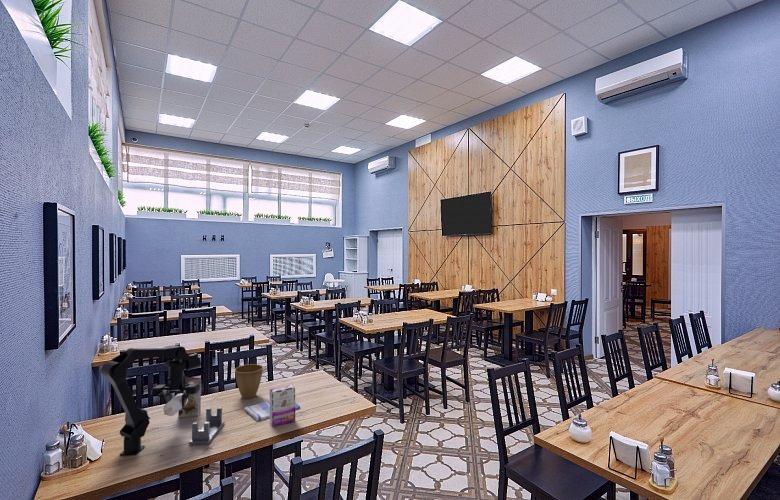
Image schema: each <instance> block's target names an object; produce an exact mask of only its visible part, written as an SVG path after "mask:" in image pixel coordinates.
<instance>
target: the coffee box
mask: <svg viewBox="0 0 780 500" xmlns="http://www.w3.org/2000/svg"><path fill="white" fill-rule="evenodd" d="M190 384H199V385H200V390H198V391H197V392H196V393H195V394H190V395H189V396H188V402H187V404H186V405H185V407H184V408H181V409H180V410H179V411H178V412H177V414H178V416H177V418H188V417H189V418H190V417H198V416H199V415H200V414H201V411H202V409H201V408H202V407H201V405H202V403H201V402H202V401H201V400H202V379H195V380H189V383H188V384H186V385H184V386H183V387H185V386H189V385H190ZM181 393H182V394H184V391H178V394H181Z"/></svg>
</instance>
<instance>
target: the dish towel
mask: <svg viewBox="0 0 780 500" xmlns="http://www.w3.org/2000/svg"><path fill="white" fill-rule="evenodd" d="M300 409H301V406H300V405H299V404H297V403H296V402H295V411H297V410H300ZM244 410H245V413H247V414H248V415H249V416H250V417H252V418H253V419H254V420H255V421H256V422H259V421H264V420H267V419H270V400H269V401H263V402H260V403H257V404H254V405H250V406H249V405H246V407H244Z"/></svg>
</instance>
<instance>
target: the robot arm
mask: <svg viewBox="0 0 780 500" xmlns="http://www.w3.org/2000/svg"><path fill="white" fill-rule="evenodd" d="M153 358H155V359H156V358H166V359H167V361H166V362H164V364H163V366H165V367H168V377H167V378H166V379H167V381H168V386H167V384H157V385H155V386H154V387H153V388H152V389H151V391H150V394H151V396H157V397H158V398H160V399H161V401H162V402H163V403H164V405H165V404H166V403H168V402H169V401H170V400H171V397H170V396H171V392H179V391H184V394H182V408H184V407H185V404H186V401H187V399H188V396H189V395H190V394H195V393H196V392H197V391H198V390H200V385H199V384H190V385H189V386H185V387H183V386H184V385H186V384H188V383H189V381H190V376H186V374H185V373H184V371H190V370H194V369H198V368H200V366H201V364H202V361H201V358H200V356H199V354H198V353H195V352H194V353H192V354H188V353H187V351H186V348H185V347H184V346H180V345H176V344H172V345H166V346H164V347H152V348H151V347H150V348H149V347H146V348H145V347H144V348H143V347H141V348H135V347H130V348H129V347H128V349H126V350H125V351H123V352H122V353H121V354H118V355H116V356H114V357H113V358H112V359H111V360H109V361H107V362H105V363H104V364H103V365H102V366H101V368H100V374H101V375H102V376H103V377H104V379H105V380H106V381H108V383H110V385H112V387H113V389H114V392H115V394H116V396H117V398H118V400H119V402H120V404H121V406H122V407H121V408H122V409H123V410H124V413H125V417H124V423H125V424H124V425H123V426H122V427H121V428H120V430H119V432H118V433H119V434H120V437H123V450H122V451H121V452H120V453H119V456H134V455H138V454H139V453H140V452H141V451H142V450H143V449H144V448H145V446H146V445H144V444H143V445H142V437H144V436H145V435H146V431H147V429H148V427H149V425H150V420H151V417H150V416H149V415H148V414H149V413H148V411H147V410H145V409H143V408H140V407H139V406H138V404H137V402H136V400H135V397H134V394H133V393H132V390H131V388H130V386H129V383H128V382H127V376H128V372H127V370H129V369H130V368H131V367H132V365H133V364H134V363H135V361H136V360H137V359H153Z"/></svg>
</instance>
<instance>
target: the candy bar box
mask: <svg viewBox="0 0 780 500" xmlns="http://www.w3.org/2000/svg"><path fill="white" fill-rule="evenodd" d="M269 401H270V418H269V423H270V425H271V427H273V428H274V427H276V426H280V425H281V426H282V425H284V424H287V423H288V424H289V423H292V422H293V423H294V422H296V410H295V403H296V388H295V385H293V384H288V385H283V386H279V387H273V388H270V389H269Z"/></svg>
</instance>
